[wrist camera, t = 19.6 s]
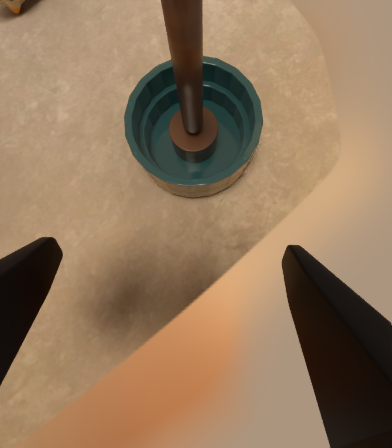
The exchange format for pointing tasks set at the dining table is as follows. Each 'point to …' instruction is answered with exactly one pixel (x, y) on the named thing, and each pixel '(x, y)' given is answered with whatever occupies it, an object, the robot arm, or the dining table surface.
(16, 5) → the bird rattle
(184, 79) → the wooden pestle
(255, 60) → the dining table surface
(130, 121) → the teal round dish
